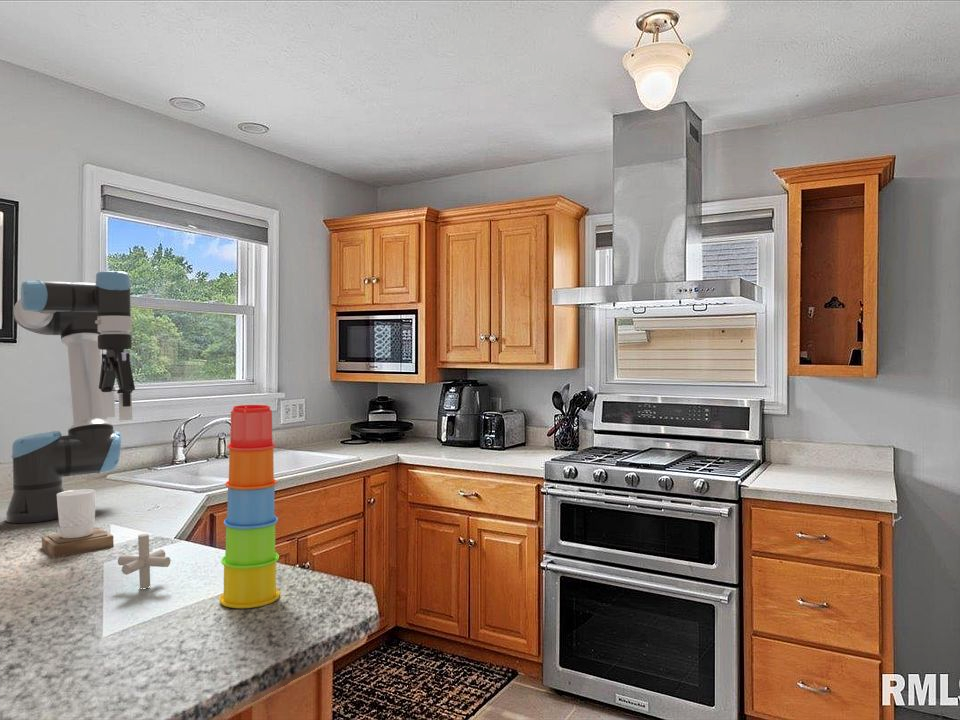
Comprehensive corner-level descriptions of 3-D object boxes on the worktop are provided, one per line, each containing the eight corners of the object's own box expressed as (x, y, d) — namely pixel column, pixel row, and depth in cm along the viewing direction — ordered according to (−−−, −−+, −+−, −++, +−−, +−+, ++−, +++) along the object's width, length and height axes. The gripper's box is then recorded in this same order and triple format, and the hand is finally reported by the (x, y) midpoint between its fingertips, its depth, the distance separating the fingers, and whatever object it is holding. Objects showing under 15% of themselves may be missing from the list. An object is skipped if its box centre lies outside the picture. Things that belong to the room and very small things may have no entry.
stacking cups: (275, 586, 132) (270, 402, 132) (284, 603, 123) (279, 405, 122) (217, 595, 128) (211, 405, 127) (222, 613, 118) (216, 409, 118)
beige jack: (151, 598, 127) (149, 543, 127) (103, 595, 129) (101, 541, 129) (184, 580, 137) (183, 529, 137) (139, 578, 139) (138, 527, 139)
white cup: (59, 533, 165) (58, 491, 165) (97, 529, 168) (96, 487, 168) (55, 541, 158) (54, 497, 158) (95, 536, 161) (94, 493, 161)
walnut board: (41, 547, 164) (41, 535, 164) (98, 537, 172) (98, 526, 172) (54, 557, 155) (54, 545, 155) (113, 546, 163) (113, 534, 163)
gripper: (83, 335, 181) (86, 417, 181) (113, 331, 163) (116, 422, 163) (115, 335, 186) (117, 415, 187) (147, 331, 168) (150, 420, 168)
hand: (117, 418), depth 175 cm, fingers open, 13 cm apart
